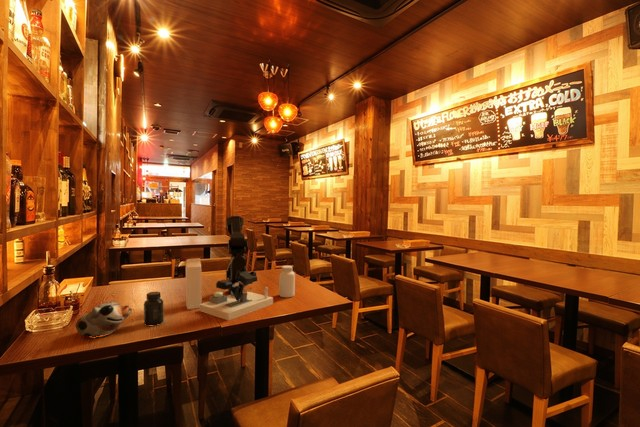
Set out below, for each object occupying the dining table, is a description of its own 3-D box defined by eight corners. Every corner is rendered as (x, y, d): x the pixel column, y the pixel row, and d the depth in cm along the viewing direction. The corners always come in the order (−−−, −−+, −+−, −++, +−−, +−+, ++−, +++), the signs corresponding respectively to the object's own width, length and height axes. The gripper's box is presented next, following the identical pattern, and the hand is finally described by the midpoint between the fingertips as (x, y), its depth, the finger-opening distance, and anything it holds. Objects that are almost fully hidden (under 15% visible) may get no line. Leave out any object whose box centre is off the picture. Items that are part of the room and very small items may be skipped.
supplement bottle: (141, 323, 128) (141, 293, 128) (160, 318, 133) (159, 289, 133) (147, 328, 123) (146, 296, 123) (166, 323, 128) (165, 293, 128)
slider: (239, 301, 146) (239, 291, 146) (243, 300, 148) (243, 290, 148) (243, 302, 144) (243, 292, 144) (247, 301, 146) (247, 291, 146)
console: (200, 311, 142) (199, 292, 142) (245, 296, 164) (245, 280, 163) (228, 320, 131) (228, 300, 131) (273, 303, 153) (273, 286, 152)
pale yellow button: (212, 297, 145) (212, 293, 145) (219, 295, 148) (219, 291, 148) (217, 298, 143) (217, 294, 143) (224, 296, 146) (224, 292, 146)
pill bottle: (292, 298, 161) (292, 268, 161) (276, 297, 163) (277, 267, 162) (296, 293, 169) (296, 265, 169) (281, 292, 171) (282, 264, 170)
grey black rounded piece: (114, 322, 129) (130, 292, 128) (123, 342, 121) (140, 310, 121) (70, 322, 117) (87, 289, 116) (77, 344, 110) (95, 309, 109)
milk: (201, 307, 147) (201, 259, 146) (187, 309, 144) (187, 260, 143) (199, 303, 152) (199, 257, 151) (185, 305, 149) (185, 258, 148)
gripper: (232, 271, 131) (232, 309, 131) (265, 264, 146) (265, 298, 147) (215, 268, 137) (215, 304, 138) (248, 261, 152) (248, 294, 153)
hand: (237, 300), depth 144 cm, fingers closed
